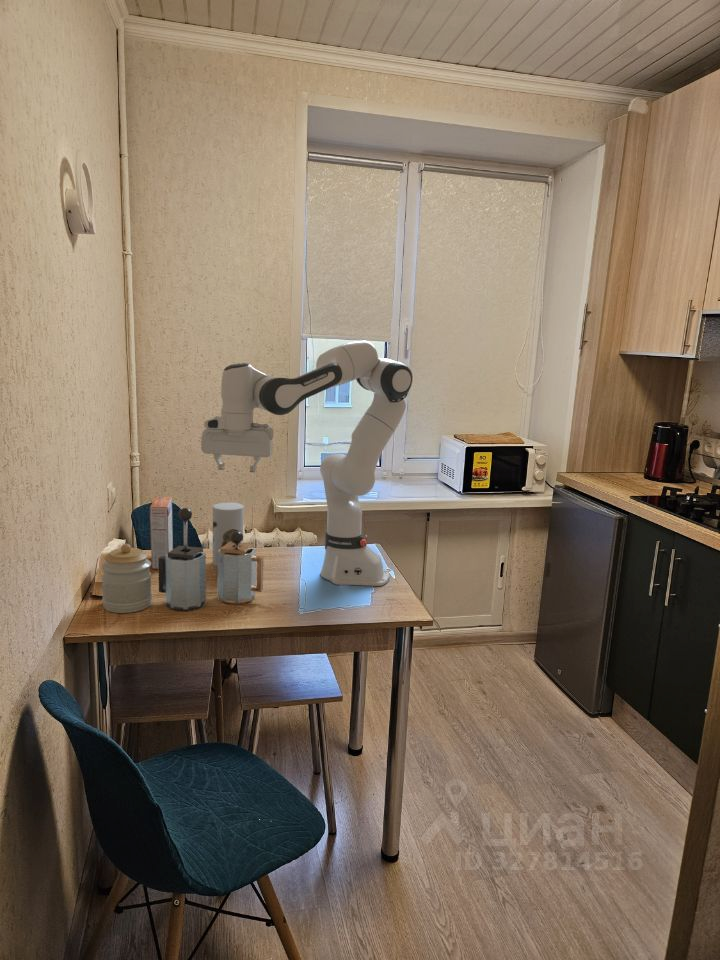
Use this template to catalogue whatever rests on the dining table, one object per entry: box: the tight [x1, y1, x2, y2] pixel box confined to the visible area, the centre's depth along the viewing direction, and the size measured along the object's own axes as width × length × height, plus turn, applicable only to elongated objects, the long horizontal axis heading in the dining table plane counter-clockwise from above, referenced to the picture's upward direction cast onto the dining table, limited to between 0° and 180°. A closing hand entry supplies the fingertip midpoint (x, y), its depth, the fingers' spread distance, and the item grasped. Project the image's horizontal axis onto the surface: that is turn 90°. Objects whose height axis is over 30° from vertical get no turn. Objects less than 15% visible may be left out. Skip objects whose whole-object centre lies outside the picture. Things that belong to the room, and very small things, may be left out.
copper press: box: [217, 542, 264, 605], centre depth 191 cm, size 13×10×16 cm
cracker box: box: [149, 496, 174, 570], centre depth 218 cm, size 14×6×21 cm, turn 10°
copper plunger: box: [231, 531, 244, 555], centre depth 190 cm, size 8×8×17 cm
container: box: [212, 502, 245, 568], centre depth 220 cm, size 10×10×20 cm
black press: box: [158, 545, 207, 612], centre depth 185 cm, size 13×10×16 cm
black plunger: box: [178, 507, 193, 560], centre depth 183 cm, size 8×8×17 cm
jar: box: [100, 543, 153, 614], centre depth 182 cm, size 13×13×18 cm
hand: (237, 470), depth 188 cm, fingers open, 8 cm apart
